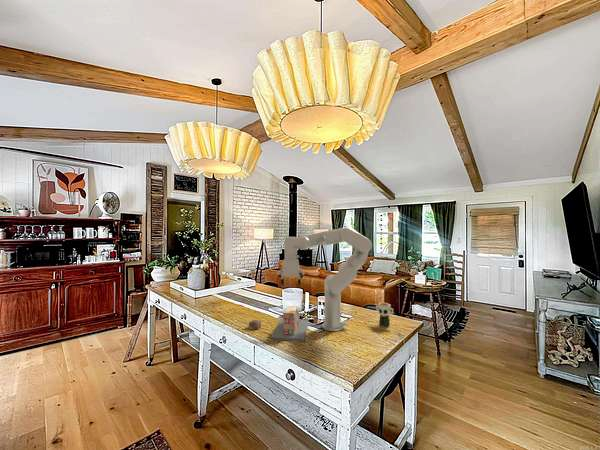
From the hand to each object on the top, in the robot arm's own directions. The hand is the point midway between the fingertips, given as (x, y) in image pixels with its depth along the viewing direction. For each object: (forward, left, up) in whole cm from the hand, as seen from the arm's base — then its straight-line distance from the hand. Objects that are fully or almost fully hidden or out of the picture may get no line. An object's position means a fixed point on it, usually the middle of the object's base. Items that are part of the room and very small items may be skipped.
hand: (290, 285), depth 159 cm
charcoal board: (-1, +4, -25) cm, 25 cm away
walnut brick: (+21, +4, -25) cm, 33 cm away
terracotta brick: (+5, -19, -25) cm, 32 cm away
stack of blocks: (-1, +4, -24) cm, 24 cm away
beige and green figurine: (-57, -11, -25) cm, 63 cm away
